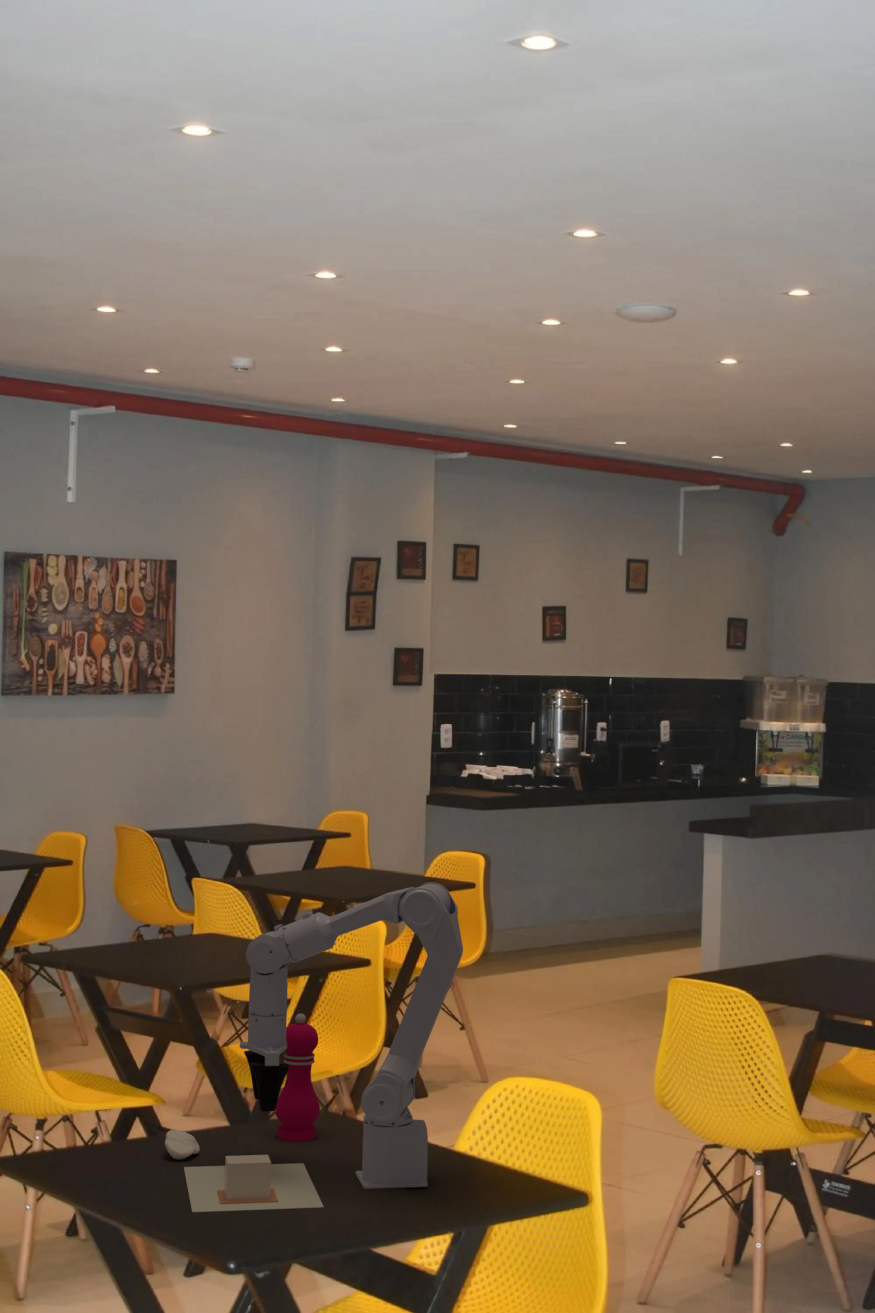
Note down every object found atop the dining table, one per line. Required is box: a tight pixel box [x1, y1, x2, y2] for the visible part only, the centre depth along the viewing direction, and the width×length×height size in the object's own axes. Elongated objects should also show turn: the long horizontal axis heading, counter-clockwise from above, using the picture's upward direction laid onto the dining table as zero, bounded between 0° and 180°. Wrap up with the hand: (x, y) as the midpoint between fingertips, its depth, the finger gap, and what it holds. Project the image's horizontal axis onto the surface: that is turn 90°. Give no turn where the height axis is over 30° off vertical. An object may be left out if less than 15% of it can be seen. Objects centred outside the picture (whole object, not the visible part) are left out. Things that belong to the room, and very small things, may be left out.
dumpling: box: [164, 1129, 201, 1161], centre depth 237 cm, size 7×5×4 cm
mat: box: [183, 1162, 324, 1213], centre depth 222 cm, size 18×22×1 cm
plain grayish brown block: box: [224, 1154, 272, 1200], centre depth 217 cm, size 4×6×5 cm, turn 103°
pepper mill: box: [274, 1013, 321, 1142], centre depth 251 cm, size 7×7×20 cm
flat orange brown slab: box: [217, 1188, 278, 1204], centre depth 217 cm, size 8×6×1 cm
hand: (264, 1105), depth 231 cm, fingers open, 7 cm apart
